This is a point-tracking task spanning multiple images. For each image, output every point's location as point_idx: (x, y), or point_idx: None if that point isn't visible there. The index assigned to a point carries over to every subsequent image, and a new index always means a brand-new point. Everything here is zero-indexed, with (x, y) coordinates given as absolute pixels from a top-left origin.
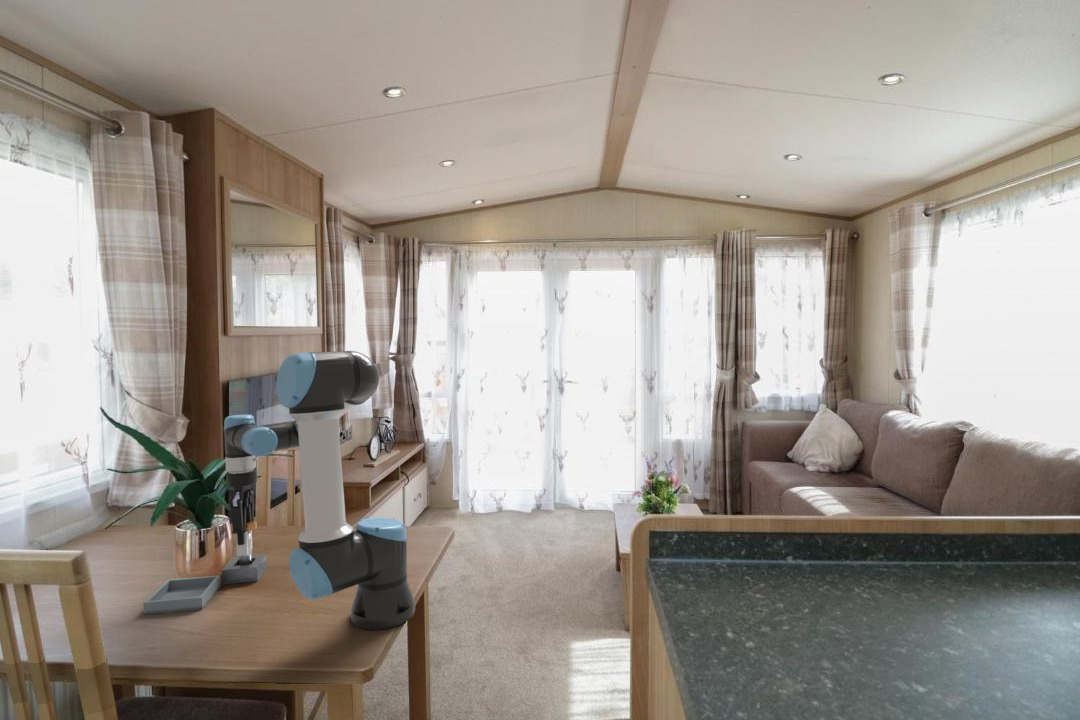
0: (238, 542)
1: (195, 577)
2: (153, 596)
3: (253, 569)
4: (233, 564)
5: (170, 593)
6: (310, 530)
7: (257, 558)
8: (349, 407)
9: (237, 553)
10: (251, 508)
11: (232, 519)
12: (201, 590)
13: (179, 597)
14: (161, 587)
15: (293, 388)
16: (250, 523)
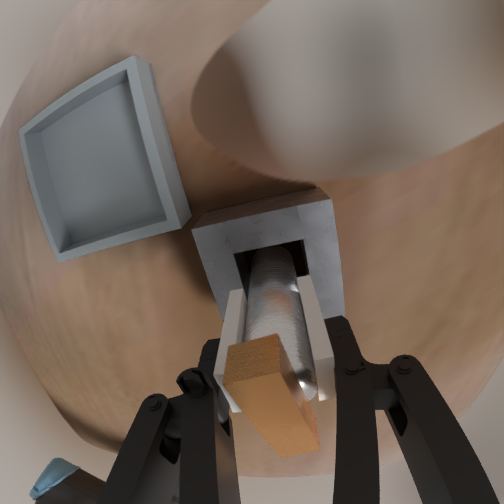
0: (203, 354)
1: (154, 142)
2: (40, 121)
3: None
4: (248, 246)
5: (115, 100)
6: None
7: None
8: None
9: (230, 299)
10: (411, 472)
11: (111, 476)
12: (139, 184)
13: (95, 150)
14: (81, 89)
15: None
16: (281, 445)
